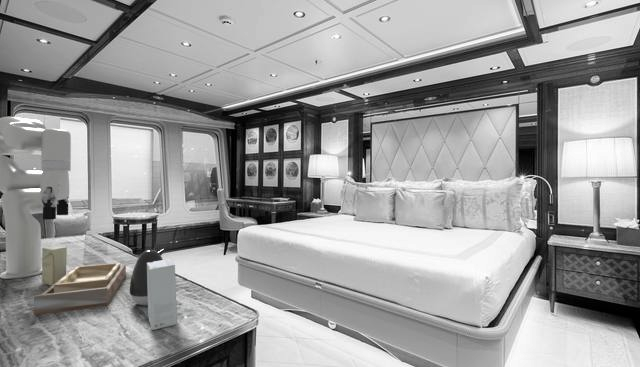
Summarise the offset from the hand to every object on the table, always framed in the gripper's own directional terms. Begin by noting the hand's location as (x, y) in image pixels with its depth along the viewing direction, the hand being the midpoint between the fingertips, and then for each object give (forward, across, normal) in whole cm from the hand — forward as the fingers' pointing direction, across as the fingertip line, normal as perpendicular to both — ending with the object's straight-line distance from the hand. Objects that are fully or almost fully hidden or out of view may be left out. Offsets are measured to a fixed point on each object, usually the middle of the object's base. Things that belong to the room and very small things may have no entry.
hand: (56, 217), depth 106 cm
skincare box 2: (+21, +43, +38) cm, 61 cm away
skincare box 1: (+23, -1, -1) cm, 23 cm away
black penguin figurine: (+21, +28, +33) cm, 48 cm away
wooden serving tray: (+22, +14, +13) cm, 29 cm away
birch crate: (+21, +10, +13) cm, 26 cm away
